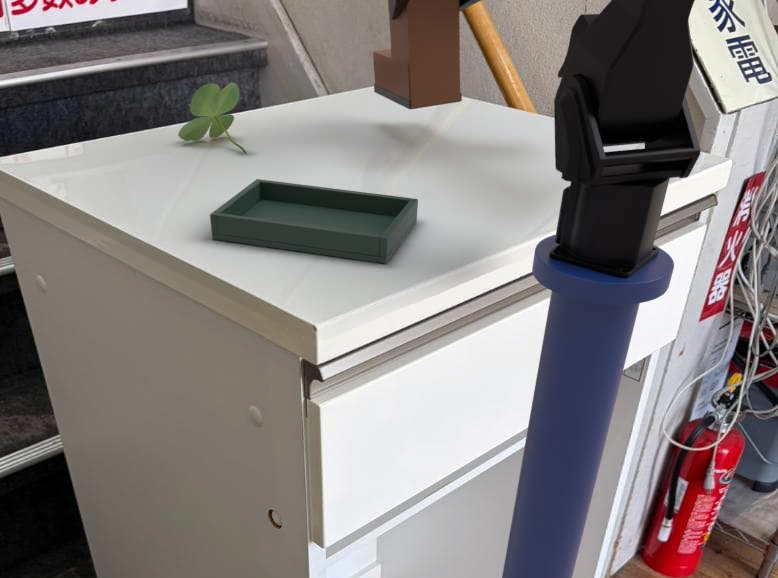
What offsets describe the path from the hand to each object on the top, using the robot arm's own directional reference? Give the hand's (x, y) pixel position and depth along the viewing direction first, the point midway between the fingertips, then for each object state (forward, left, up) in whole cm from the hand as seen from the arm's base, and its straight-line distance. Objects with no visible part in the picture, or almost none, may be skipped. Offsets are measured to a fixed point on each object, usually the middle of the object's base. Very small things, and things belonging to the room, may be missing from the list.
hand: (418, 14), depth 84 cm
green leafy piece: (+14, +16, -12) cm, 25 cm away
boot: (0, -1, -8) cm, 8 cm away
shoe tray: (-10, +28, -12) cm, 32 cm away
